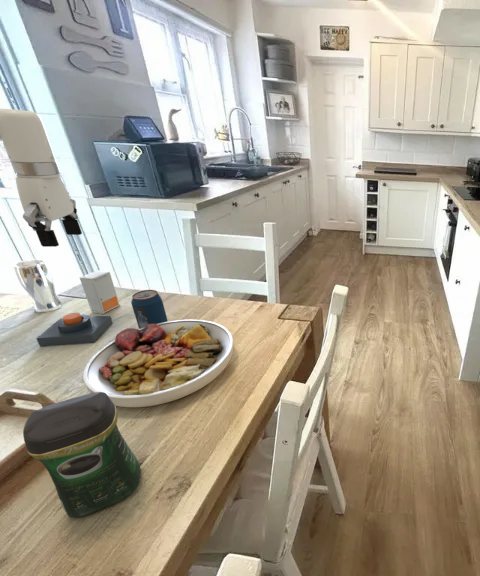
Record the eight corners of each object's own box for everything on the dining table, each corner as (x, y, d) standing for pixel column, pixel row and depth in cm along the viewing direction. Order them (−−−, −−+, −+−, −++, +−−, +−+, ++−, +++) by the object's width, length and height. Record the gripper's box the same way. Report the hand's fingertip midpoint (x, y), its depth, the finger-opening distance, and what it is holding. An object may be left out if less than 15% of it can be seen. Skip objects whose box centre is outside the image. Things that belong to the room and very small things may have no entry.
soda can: (169, 322, 98) (160, 287, 93) (169, 334, 93) (160, 297, 88) (141, 327, 94) (130, 291, 89) (140, 340, 89) (128, 302, 84)
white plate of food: (259, 348, 89) (256, 324, 86) (162, 433, 63) (152, 404, 60) (174, 325, 97) (168, 302, 93) (55, 392, 71) (41, 363, 67)
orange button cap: (61, 325, 86) (59, 319, 85) (69, 318, 89) (67, 313, 88) (77, 324, 87) (75, 319, 86) (85, 318, 90) (83, 312, 89)
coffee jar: (142, 458, 59) (111, 378, 51) (142, 495, 53) (107, 413, 45) (71, 484, 54) (25, 401, 46) (62, 529, 48) (7, 443, 40)
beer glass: (65, 300, 105) (47, 257, 98) (63, 309, 100) (44, 264, 94) (34, 305, 101) (14, 261, 94) (31, 315, 96) (9, 269, 90)
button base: (40, 346, 84) (33, 332, 82) (63, 326, 93) (58, 312, 91) (94, 342, 87) (89, 328, 85) (112, 323, 96) (108, 310, 94)
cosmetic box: (103, 314, 99) (91, 279, 94) (91, 312, 100) (78, 277, 95) (121, 305, 105) (110, 271, 100) (109, 303, 105) (97, 269, 100)
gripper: (42, 164, 82) (66, 230, 89) (-15, 173, 67) (20, 251, 74) (78, 166, 84) (98, 230, 91) (30, 175, 69) (59, 251, 76)
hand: (63, 240), depth 83 cm, fingers open, 9 cm apart
